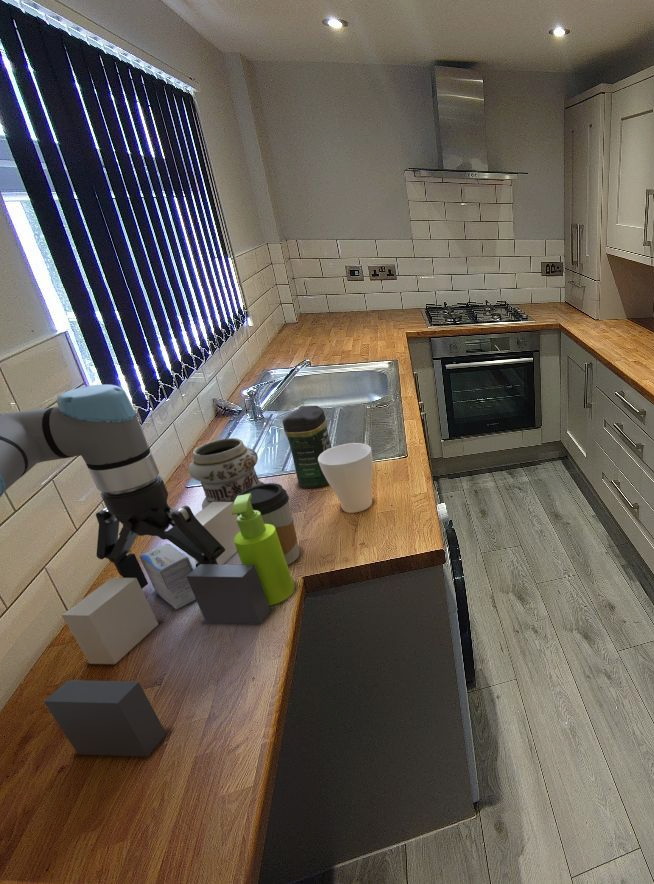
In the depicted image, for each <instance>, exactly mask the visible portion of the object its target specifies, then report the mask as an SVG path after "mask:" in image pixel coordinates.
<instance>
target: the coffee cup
mask: <svg viewBox="0 0 654 884" xmlns="http://www.w3.org/2000/svg"><path fill="white" fill-rule="evenodd" d="M250 493H251V495H252V497H251V499H250V502H251V505H252V508H253V510H258V511H260V512H261V515H262V518H263V521H264V524H271V525H273V526H274V527H275V529H276V532H277V535H278V538H279V541H280V544H281V547H282V551H283V554H284V557H285V560H286V563H287V566H289V565H290V564H292V563H294V562H296V560H297V559H298V558H299V557H300V553H301V552H300V547H299V543H298V537H297V532H296V527H295V522H294V518H293V515H292V511H291V506H290V505H291V504H290V501H289V500H290V496H289V495H288V492H287V490H286V489H285V488H284V487H283V486H282V485H281V484H279V483H275V482H274V483H273V482H269V483H265V484H260V485H257V486H253V487H251V488H248V489H246V490H244V491H242V492H241V493H239V494H238V496H239V495H244V494H250ZM238 515H240V514H238Z"/></svg>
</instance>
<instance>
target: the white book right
mask: <svg viewBox="0 0 654 884" xmlns="http://www.w3.org/2000/svg"><path fill="white" fill-rule="evenodd" d="M232 508H233V502H212V503H210V504H209V505H208V506H206V507H205V508H204V509H202V508H201V510H200V511H199V512H197V513H196V514H193V515H194V517H195V518H196V519H197V520H198V521H199V522H200V523H201V524H202V525H203V526H204V527H205V528H206V529H207V530H208V531H209V532H210V534H211V535H212V536H213V537H214V538H215V539H216V540H217V541H218V542H219V543H220V544H221V545H222V546H223V547H224V548H225V552H223V553H222V554H221V555H220V556H219V557H218V558H217V559H216V561H217V563H218V564H219V565H225V563H226V562H227V561H228V560H230V559H231V558H232V557H233V556H235V554H236V553H238V551H237V548H236V546H235V543H234V537H235V536H236V535H237V534H238V533H239V532H240V529H239V526H238V523H237V520H236V519H237V517H238V516H237V514H236V515H232ZM202 555H204V554H203V553H202ZM195 562H196V563H195V564H197V563H198V561H197V560H195Z"/></svg>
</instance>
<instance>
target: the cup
mask: <svg viewBox="0 0 654 884" xmlns="http://www.w3.org/2000/svg"><path fill="white" fill-rule="evenodd" d="M331 447H332V448H329V449H327V450H326V451H324V452H322V453H321V454H320V455H319V457H318V462H319V465H320V467H321V470H322V472H323V474H324V476H325V478H326V480H327V481H328V483H329V484H328V485H329V486H330V487H331V489H332V491H333V492H334V495H335V496H336V498H337V500H338V501H339V504H340V506H341V509H342V510H343V512H345V513H348V514H354V513H355V514H356V513H359V512H362V511H365V510H367V509H369V508H370V507H371V506H372V504H373V498H372V488H373V487H372V485H373V484H372V483H373V475H374V474H373V472H374V461H373V460H374V459H373V452H372V447H371V446H370V445H368V444H367V443H361V442H350V443H349V442H348V443H343V444H339V445H338V444H337V445H335V446H331Z"/></svg>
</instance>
